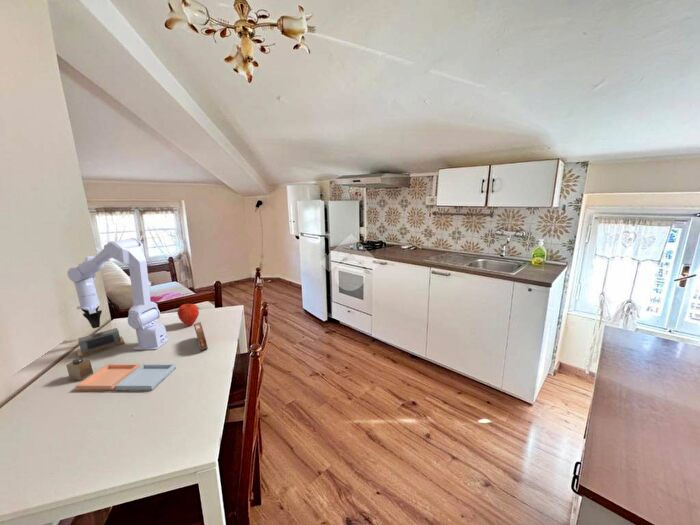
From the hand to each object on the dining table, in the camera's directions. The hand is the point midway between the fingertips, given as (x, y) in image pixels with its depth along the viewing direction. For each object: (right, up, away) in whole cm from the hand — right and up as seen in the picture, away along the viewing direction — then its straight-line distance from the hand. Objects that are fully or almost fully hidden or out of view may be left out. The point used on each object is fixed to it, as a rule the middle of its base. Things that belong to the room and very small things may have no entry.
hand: (95, 324), depth 116 cm
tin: (+47, -8, -3) cm, 48 cm away
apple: (+32, -4, +15) cm, 35 cm away
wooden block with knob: (+16, -13, -22) cm, 31 cm away
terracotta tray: (+27, -13, -24) cm, 38 cm away
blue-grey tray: (+40, -13, -24) cm, 49 cm away
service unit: (+6, -9, -3) cm, 11 cm away
